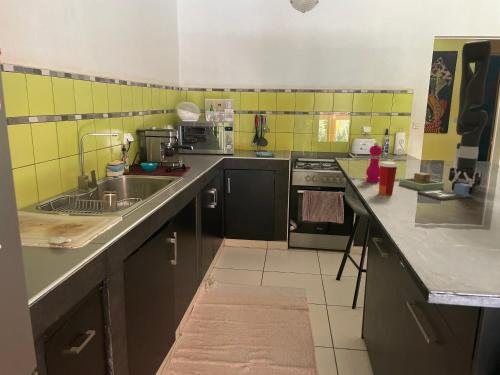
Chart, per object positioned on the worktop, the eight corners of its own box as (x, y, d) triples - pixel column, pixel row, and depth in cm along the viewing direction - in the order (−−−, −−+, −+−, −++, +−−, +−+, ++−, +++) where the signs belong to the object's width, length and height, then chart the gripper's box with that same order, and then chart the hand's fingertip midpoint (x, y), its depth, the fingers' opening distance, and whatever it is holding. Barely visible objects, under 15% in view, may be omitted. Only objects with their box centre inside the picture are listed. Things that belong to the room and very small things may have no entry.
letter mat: (437, 191, 180) (438, 189, 180) (463, 198, 169) (463, 195, 168) (417, 193, 175) (417, 191, 175) (441, 200, 163) (442, 198, 163)
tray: (419, 183, 198) (420, 177, 197) (443, 189, 186) (443, 183, 185) (398, 184, 192) (399, 179, 192) (421, 191, 180) (422, 184, 179)
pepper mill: (380, 183, 195) (384, 143, 191) (365, 182, 197) (369, 142, 192) (379, 180, 202) (383, 142, 198) (364, 179, 204) (368, 141, 199)
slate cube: (460, 193, 177) (462, 183, 176) (470, 196, 173) (472, 185, 172) (453, 194, 175) (454, 183, 174) (463, 197, 171) (464, 186, 170)
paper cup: (394, 192, 175) (397, 162, 172) (394, 196, 168) (398, 164, 165) (376, 191, 177) (379, 160, 174) (375, 194, 170) (378, 163, 167)
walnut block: (420, 184, 192) (422, 172, 191) (428, 186, 188) (430, 174, 186) (413, 185, 190) (414, 173, 189) (421, 187, 186) (422, 174, 184)
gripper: (489, 158, 165) (482, 195, 169) (459, 154, 178) (454, 189, 182) (477, 159, 162) (471, 197, 166) (447, 154, 175) (442, 190, 179)
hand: (462, 192), depth 174 cm, fingers open, 7 cm apart
